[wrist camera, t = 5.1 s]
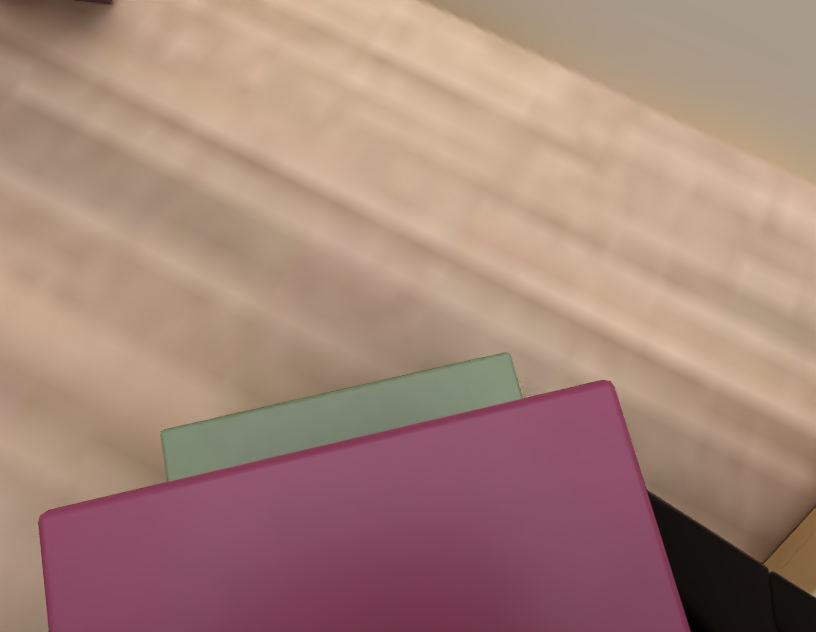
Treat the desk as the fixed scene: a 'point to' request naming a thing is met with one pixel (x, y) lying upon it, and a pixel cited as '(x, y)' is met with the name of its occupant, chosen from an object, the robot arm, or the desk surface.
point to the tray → (798, 556)
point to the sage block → (338, 416)
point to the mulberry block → (385, 535)
